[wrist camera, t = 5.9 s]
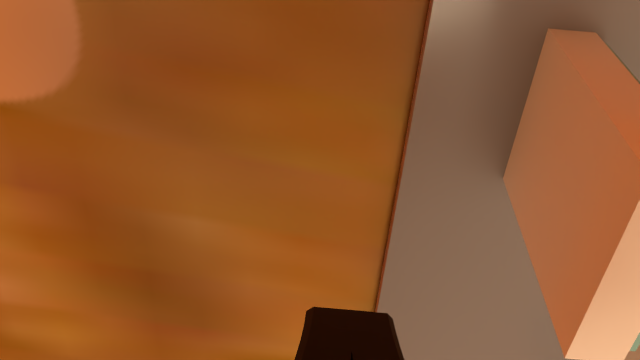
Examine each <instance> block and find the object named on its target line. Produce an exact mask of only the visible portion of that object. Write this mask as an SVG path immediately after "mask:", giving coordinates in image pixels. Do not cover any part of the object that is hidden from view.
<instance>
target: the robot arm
mask: <svg viewBox="0 0 640 360" xmlns="http://www.w3.org/2000/svg"><path fill="white" fill-rule="evenodd" d="M295 360H404V357H403V354H402V351H401V348H400V344H399V341H398V337H397V334H396V330H395V326H394V322H393V318H392V317H391V316H390V315H389V314H388V313H379V312H367V311H355V310H344V309H332V308H320V307H313V308H311V309H309V310H307V311H306V317H305V324H304V328H303V332H302V336H301V340H300V344H299V347H298V351H297V354H296V357H295Z"/></svg>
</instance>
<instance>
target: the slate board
mask: <svg viewBox="0 0 640 360" xmlns="http://www.w3.org/2000/svg"><path fill="white" fill-rule="evenodd" d="M548 29H560V30H571V31H583V32H595V33H597V34H598V36H599V37H600V38H601V39H602V40H603V42H604V43H607V44H608V45H609V46H610V48H611V49H612V50H613V51H614V52H615V53H616V55H617V56H618V57H619V58H620V59H621V60H622V62H623V63H624V64H625V65H626V66H627V68H628V69H629V70H630V71H631V72H632V73H633V75H634V76H635V77H636V78H637V79H638V80H639V82H640V0H430V3H429V9H428V14H427V20H426V26H425V31H424V37H423V43H422V48H421V54H420V59H419V65H418V71H417V76H416V82H415V87H414V93H413V99H412V104H411V110H410V116H409V121H408V127H407V132H406V138H405V144H404V149H403V155H402V160H401V166H400V172H399V177H398V183H397V189H396V194H395V200H394V205H393V211H392V217H391V222H390V228H389V233H388V239H387V245H386V250H385V256H384V262H383V267H382V273H381V278H380V284H379V290H378V295H377V301H376V306H375V312H379V313H388V314H389V315H390V316H391V317H392V318H393V322H394V326H395V330H396V334H397V337H398V341H399V344H400V348H401V351H402V354H403V357H404V360H578V359H566V358H564V355H563V352H562V349H561V346H560V343H559V341H558V338H557V335H556V332H555V329H554V326H553V323H552V320H551V317H550V314H549V311H548V309H547V306H546V303H545V300H544V297H543V294H542V291H541V288H540V285H539V282H538V279H537V277H536V274H535V271H534V268H533V265H532V262H531V259H530V256H529V253H528V250H527V247H526V244H525V242H524V239H523V236H522V233H521V230H520V227H519V224H518V221H517V218H516V215H515V212H514V210H513V207H512V204H511V201H510V198H509V195H508V192H507V189H506V186H505V183H504V180H503V177H504V173H505V170H506V167H507V163H508V160H509V157H510V154H511V150H512V147H513V144H514V140H515V137H516V134H517V130H518V127H519V124H520V120H521V117H522V114H523V110H524V107H525V104H526V100H527V97H528V94H529V90H530V87H531V84H532V80H533V77H534V74H535V70H536V67H537V64H538V60H539V57H540V54H541V50H542V47H543V44H544V41H545V37H546V34H547V31H548Z"/></svg>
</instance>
